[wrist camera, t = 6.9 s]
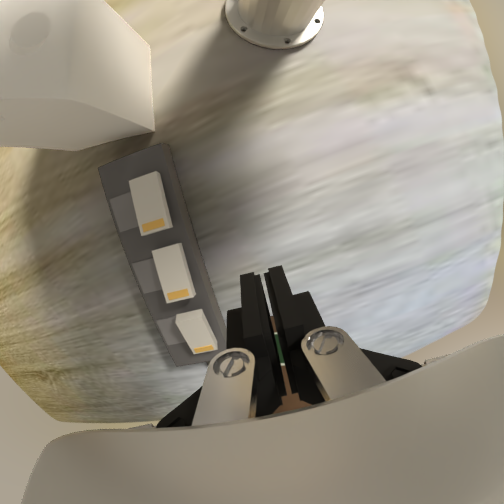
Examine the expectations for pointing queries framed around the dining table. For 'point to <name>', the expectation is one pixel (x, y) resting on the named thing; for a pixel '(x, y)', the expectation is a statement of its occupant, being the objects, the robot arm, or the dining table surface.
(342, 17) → the dining table surface
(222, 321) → the power strip
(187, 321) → the rocker
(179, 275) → the rocker mid
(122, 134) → the milk
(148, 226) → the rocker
